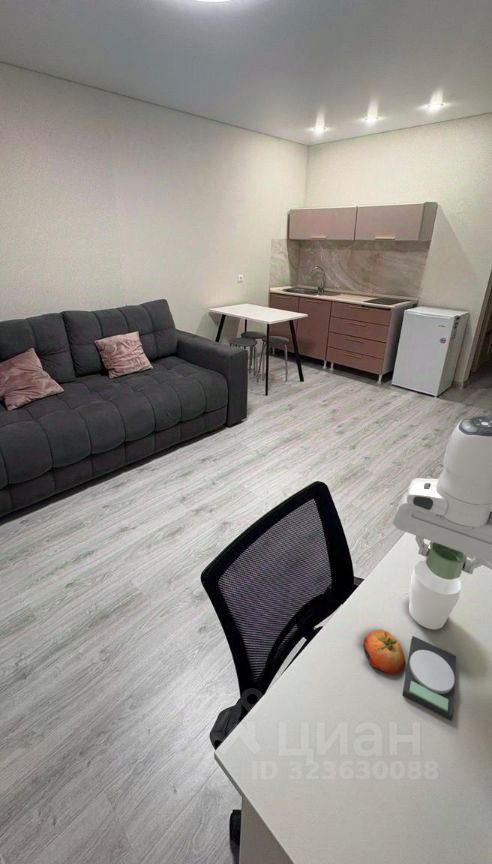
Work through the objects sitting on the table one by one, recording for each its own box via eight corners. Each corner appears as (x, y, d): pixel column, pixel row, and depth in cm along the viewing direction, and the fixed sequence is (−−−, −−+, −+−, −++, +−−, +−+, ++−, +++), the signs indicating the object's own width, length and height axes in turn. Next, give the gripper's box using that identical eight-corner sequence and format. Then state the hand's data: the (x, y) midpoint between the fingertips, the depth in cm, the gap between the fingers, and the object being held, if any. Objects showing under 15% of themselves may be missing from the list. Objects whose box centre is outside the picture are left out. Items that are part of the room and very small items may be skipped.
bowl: (437, 551, 82) (442, 534, 80) (467, 573, 77) (473, 555, 75) (417, 563, 79) (422, 545, 77) (448, 586, 74) (454, 568, 72)
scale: (410, 644, 82) (413, 632, 81) (453, 664, 78) (457, 652, 77) (401, 699, 72) (404, 687, 71) (449, 725, 69) (454, 713, 68)
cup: (406, 593, 93) (416, 553, 89) (450, 612, 89) (462, 570, 85) (400, 624, 86) (410, 582, 82) (447, 646, 82) (461, 602, 77)
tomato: (399, 686, 73) (380, 644, 75) (367, 684, 78) (349, 644, 79) (415, 660, 79) (397, 621, 80) (384, 659, 83) (367, 623, 85)
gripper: (531, 514, 70) (508, 574, 75) (404, 475, 80) (392, 531, 85) (534, 536, 65) (509, 599, 70) (398, 492, 74) (385, 550, 80)
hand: (444, 561), depth 77 cm, fingers closed on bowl, 6 cm apart
